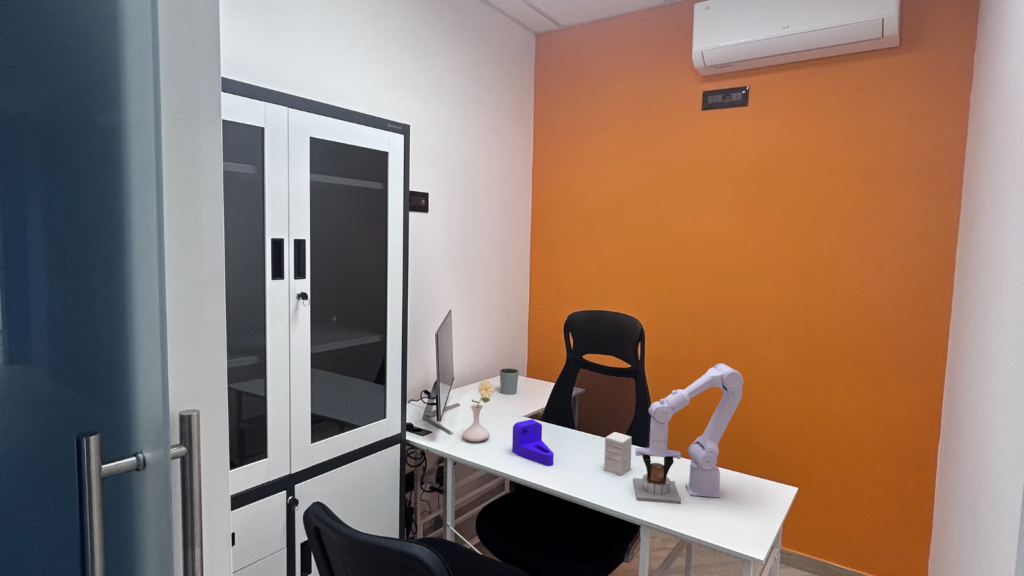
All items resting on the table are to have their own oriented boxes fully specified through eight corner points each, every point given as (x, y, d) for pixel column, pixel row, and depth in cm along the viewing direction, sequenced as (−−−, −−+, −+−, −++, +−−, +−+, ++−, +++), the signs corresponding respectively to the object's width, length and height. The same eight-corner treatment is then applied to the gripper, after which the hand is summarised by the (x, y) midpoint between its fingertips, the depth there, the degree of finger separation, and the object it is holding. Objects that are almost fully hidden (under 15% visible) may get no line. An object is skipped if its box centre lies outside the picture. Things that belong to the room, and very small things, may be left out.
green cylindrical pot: (509, 388, 299) (509, 367, 297) (522, 392, 291) (522, 370, 290) (495, 392, 292) (495, 370, 291) (508, 396, 284) (508, 374, 283)
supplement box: (613, 463, 206) (614, 431, 205) (631, 469, 202) (632, 436, 200) (603, 470, 201) (604, 436, 199) (621, 476, 196) (622, 442, 195)
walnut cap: (662, 478, 187) (663, 462, 186) (664, 485, 182) (665, 469, 181) (648, 477, 187) (649, 461, 186) (649, 484, 182) (650, 467, 182)
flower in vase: (466, 445, 220) (467, 385, 218) (459, 435, 231) (459, 377, 228) (497, 441, 225) (498, 382, 222) (488, 431, 236) (489, 375, 233)
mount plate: (673, 483, 191) (674, 481, 191) (680, 503, 177) (681, 500, 177) (632, 480, 193) (633, 477, 193) (636, 500, 179) (636, 497, 179)
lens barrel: (667, 483, 189) (668, 474, 188) (671, 496, 180) (672, 486, 179) (641, 481, 190) (641, 472, 189) (644, 494, 181) (644, 484, 181)
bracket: (512, 452, 215) (512, 423, 214) (534, 446, 221) (535, 418, 220) (539, 469, 200) (540, 438, 199) (562, 462, 206) (563, 432, 205)
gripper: (678, 435, 186) (676, 473, 187) (635, 432, 188) (633, 470, 189) (682, 443, 179) (680, 482, 180) (637, 440, 181) (635, 479, 182)
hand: (656, 477), depth 184 cm, fingers closed on walnut cap, 5 cm apart
